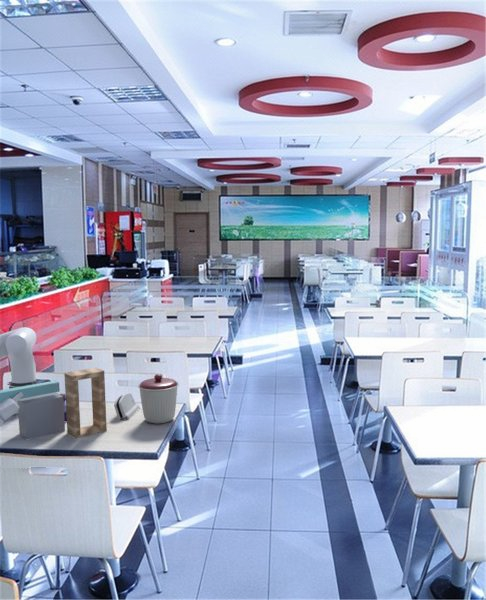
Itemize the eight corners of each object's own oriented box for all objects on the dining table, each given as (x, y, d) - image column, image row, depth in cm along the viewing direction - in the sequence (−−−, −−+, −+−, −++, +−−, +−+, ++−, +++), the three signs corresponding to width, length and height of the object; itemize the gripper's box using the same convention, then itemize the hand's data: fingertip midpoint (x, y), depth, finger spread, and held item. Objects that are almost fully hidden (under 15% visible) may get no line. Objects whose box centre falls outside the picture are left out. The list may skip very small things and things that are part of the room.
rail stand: (75, 438, 226) (72, 376, 223) (67, 433, 232) (64, 372, 229) (106, 430, 235) (104, 370, 232) (98, 425, 241) (95, 367, 238)
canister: (177, 426, 239) (176, 379, 236) (135, 427, 238) (134, 379, 236) (181, 413, 257) (180, 369, 254) (142, 413, 256) (141, 369, 254)
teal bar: (0, 402, 219) (-1, 392, 219) (-3, 400, 222) (-4, 390, 222) (59, 391, 234) (59, 382, 234) (56, 389, 238) (55, 380, 237)
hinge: (128, 419, 248) (120, 399, 248) (119, 422, 249) (111, 402, 248) (140, 408, 265) (133, 389, 264) (131, 411, 266) (124, 392, 265)
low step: (26, 439, 225) (24, 404, 223) (19, 434, 232) (17, 399, 230) (65, 430, 235) (63, 396, 233) (56, 425, 242) (55, 392, 240)
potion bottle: (71, 416, 254) (70, 390, 253) (73, 421, 246) (72, 395, 245) (52, 418, 251) (50, 392, 250) (53, 424, 243) (51, 398, 242)
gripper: (-13, 413, 228) (16, 392, 235) (2, 426, 213) (32, 403, 219) (-22, 402, 226) (7, 381, 232) (-8, 414, 210) (23, 391, 217)
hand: (19, 391), depth 226 cm, fingers closed on teal bar, 4 cm apart
